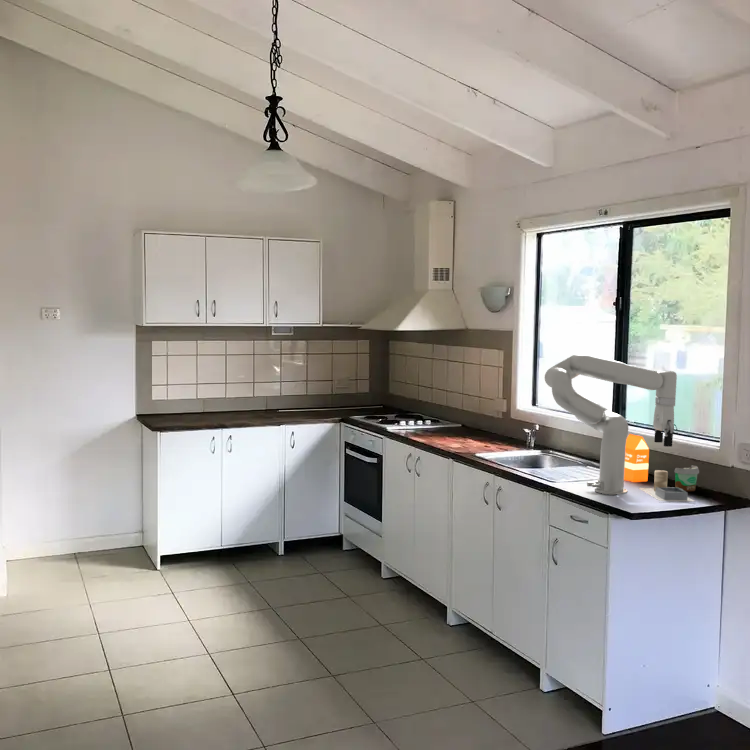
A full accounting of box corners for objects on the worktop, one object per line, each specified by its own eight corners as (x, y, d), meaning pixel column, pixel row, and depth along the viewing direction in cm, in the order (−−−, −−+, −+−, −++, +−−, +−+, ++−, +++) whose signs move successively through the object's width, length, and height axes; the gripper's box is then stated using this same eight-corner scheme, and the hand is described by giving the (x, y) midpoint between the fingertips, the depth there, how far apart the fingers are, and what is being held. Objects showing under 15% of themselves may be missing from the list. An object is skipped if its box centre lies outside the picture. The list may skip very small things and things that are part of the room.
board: (659, 502, 315) (659, 500, 315) (638, 489, 336) (638, 488, 336) (695, 503, 315) (695, 501, 315) (672, 490, 337) (672, 488, 337)
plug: (656, 492, 329) (657, 472, 328) (651, 489, 334) (652, 470, 333) (668, 492, 329) (669, 472, 329) (663, 489, 334) (665, 470, 334)
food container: (686, 495, 329) (688, 470, 328) (673, 492, 334) (674, 467, 333) (704, 491, 336) (705, 467, 336) (690, 488, 341) (692, 464, 341)
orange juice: (632, 484, 348) (635, 437, 346) (619, 479, 356) (621, 433, 355) (647, 483, 351) (650, 436, 349) (634, 478, 359) (636, 433, 357)
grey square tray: (664, 499, 316) (664, 492, 316) (655, 494, 325) (655, 487, 325) (687, 500, 316) (687, 492, 316) (677, 494, 325) (678, 487, 325)
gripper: (648, 399, 337) (645, 440, 339) (664, 404, 320) (662, 447, 321) (666, 399, 338) (663, 441, 339) (683, 404, 320) (681, 448, 322)
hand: (663, 444), depth 330 cm, fingers open, 9 cm apart
